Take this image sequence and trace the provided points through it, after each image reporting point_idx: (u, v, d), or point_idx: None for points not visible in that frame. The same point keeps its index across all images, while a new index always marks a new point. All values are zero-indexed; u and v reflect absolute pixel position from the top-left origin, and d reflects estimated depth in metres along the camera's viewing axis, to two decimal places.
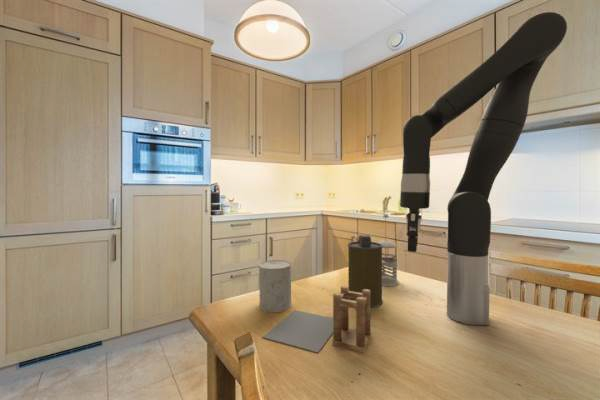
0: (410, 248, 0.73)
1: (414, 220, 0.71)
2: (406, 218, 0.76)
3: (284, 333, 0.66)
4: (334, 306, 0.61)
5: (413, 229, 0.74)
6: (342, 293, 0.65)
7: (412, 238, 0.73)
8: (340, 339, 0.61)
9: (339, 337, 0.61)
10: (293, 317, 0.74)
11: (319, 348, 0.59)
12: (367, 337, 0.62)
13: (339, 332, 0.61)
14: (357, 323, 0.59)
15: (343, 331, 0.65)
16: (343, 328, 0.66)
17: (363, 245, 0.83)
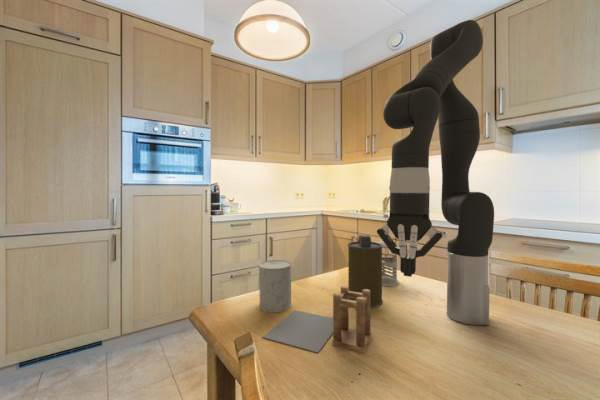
0: (414, 272, 0.56)
1: None
2: (417, 233, 0.54)
3: (284, 333, 0.66)
4: (334, 306, 0.61)
5: None
6: (342, 293, 0.65)
7: None
8: (340, 339, 0.61)
9: (339, 337, 0.61)
10: (293, 317, 0.74)
11: (319, 348, 0.59)
12: (367, 337, 0.62)
13: (339, 332, 0.61)
14: (357, 323, 0.59)
15: (343, 331, 0.65)
16: (343, 328, 0.66)
17: (363, 245, 0.83)
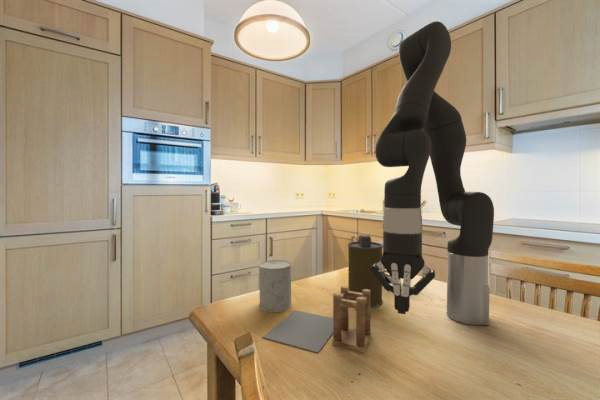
0: (408, 309, 0.57)
1: None
2: (410, 272, 0.55)
3: (284, 333, 0.66)
4: (334, 306, 0.61)
5: None
6: (342, 293, 0.65)
7: (409, 295, 0.57)
8: (340, 339, 0.61)
9: (339, 337, 0.61)
10: (293, 317, 0.74)
11: (319, 348, 0.59)
12: (367, 337, 0.62)
13: (339, 332, 0.61)
14: (357, 323, 0.59)
15: (343, 331, 0.65)
16: (343, 328, 0.66)
17: (363, 245, 0.83)
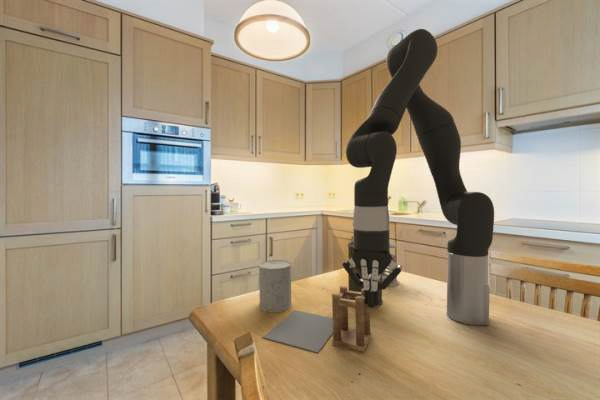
0: (377, 303, 0.59)
1: None
2: (378, 267, 0.58)
3: (284, 333, 0.66)
4: (333, 306, 0.61)
5: None
6: (341, 293, 0.65)
7: (378, 290, 0.60)
8: (340, 339, 0.61)
9: (339, 337, 0.61)
10: (293, 317, 0.74)
11: (319, 348, 0.59)
12: (367, 336, 0.62)
13: (339, 332, 0.61)
14: (356, 322, 0.59)
15: (343, 331, 0.65)
16: (343, 328, 0.66)
17: None
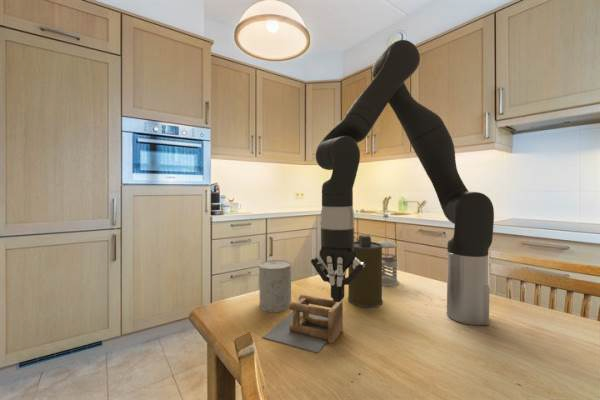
0: (342, 298, 0.63)
1: None
2: (342, 264, 0.61)
3: (284, 333, 0.66)
4: (298, 332, 0.65)
5: None
6: None
7: (343, 285, 0.63)
8: (328, 333, 0.62)
9: (325, 334, 0.62)
10: None
11: (319, 348, 0.59)
12: None
13: (321, 332, 0.63)
14: (309, 313, 0.64)
15: None
16: None
17: (363, 245, 0.83)
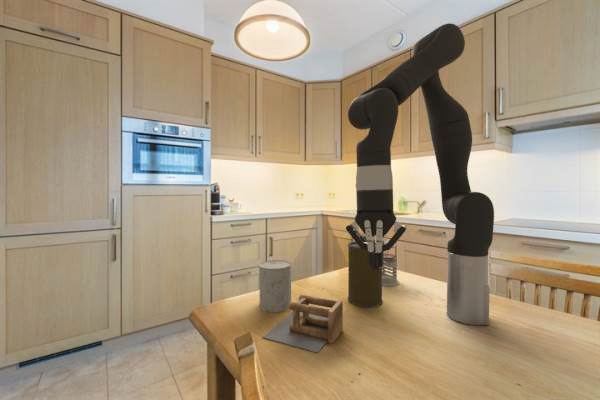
0: None
1: None
2: (382, 227, 0.57)
3: (284, 333, 0.66)
4: (298, 332, 0.65)
5: None
6: None
7: (383, 252, 0.59)
8: (328, 333, 0.62)
9: (325, 334, 0.62)
10: None
11: (319, 348, 0.59)
12: None
13: (321, 332, 0.63)
14: (309, 313, 0.64)
15: None
16: None
17: None
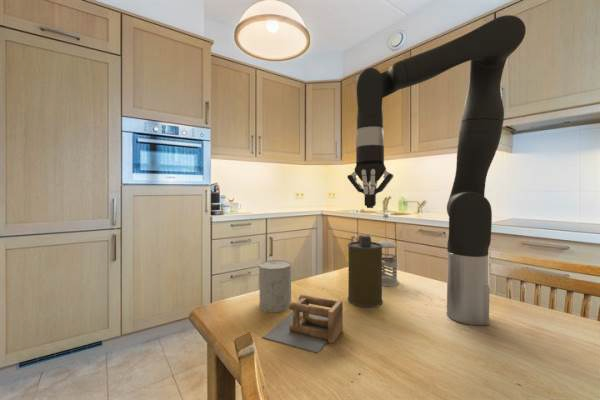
0: (374, 204, 0.77)
1: (389, 180, 0.76)
2: (374, 174, 0.75)
3: (284, 333, 0.66)
4: (298, 332, 0.65)
5: None
6: None
7: (375, 194, 0.77)
8: (328, 333, 0.62)
9: (325, 334, 0.62)
10: None
11: (319, 348, 0.59)
12: None
13: (321, 332, 0.63)
14: (309, 313, 0.64)
15: None
16: None
17: (363, 245, 0.83)
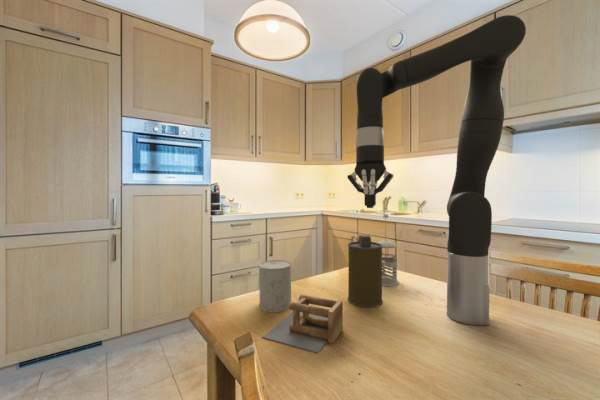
0: (374, 204, 0.77)
1: (389, 180, 0.76)
2: (374, 174, 0.75)
3: (284, 333, 0.66)
4: (298, 332, 0.65)
5: None
6: None
7: (375, 194, 0.77)
8: (328, 333, 0.62)
9: (325, 334, 0.62)
10: None
11: (319, 348, 0.59)
12: None
13: (321, 332, 0.63)
14: (309, 313, 0.64)
15: None
16: None
17: (363, 245, 0.83)
